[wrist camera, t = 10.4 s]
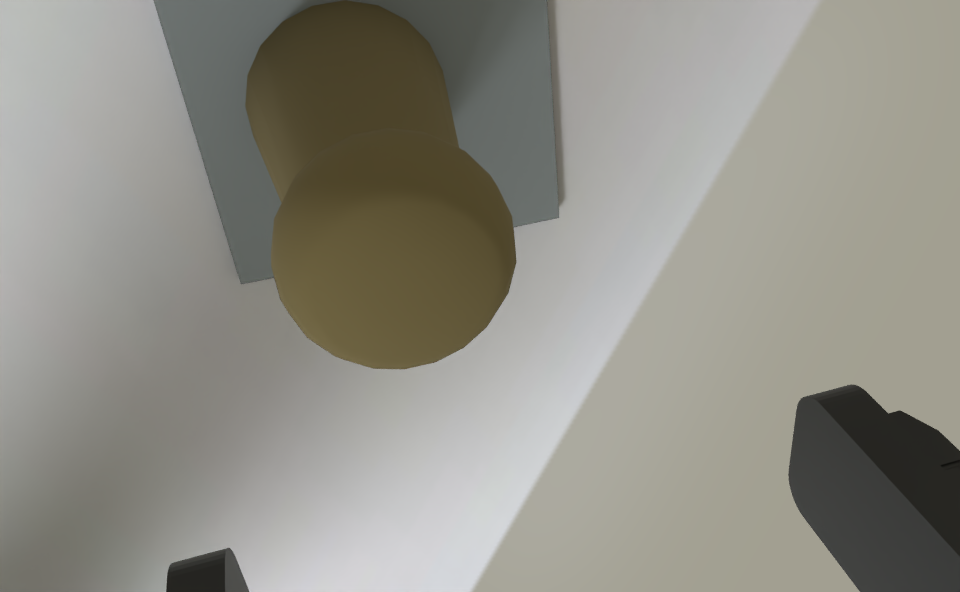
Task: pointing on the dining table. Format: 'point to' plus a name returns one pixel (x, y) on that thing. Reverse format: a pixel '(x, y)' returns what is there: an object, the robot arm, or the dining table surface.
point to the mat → (468, 77)
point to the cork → (374, 190)
